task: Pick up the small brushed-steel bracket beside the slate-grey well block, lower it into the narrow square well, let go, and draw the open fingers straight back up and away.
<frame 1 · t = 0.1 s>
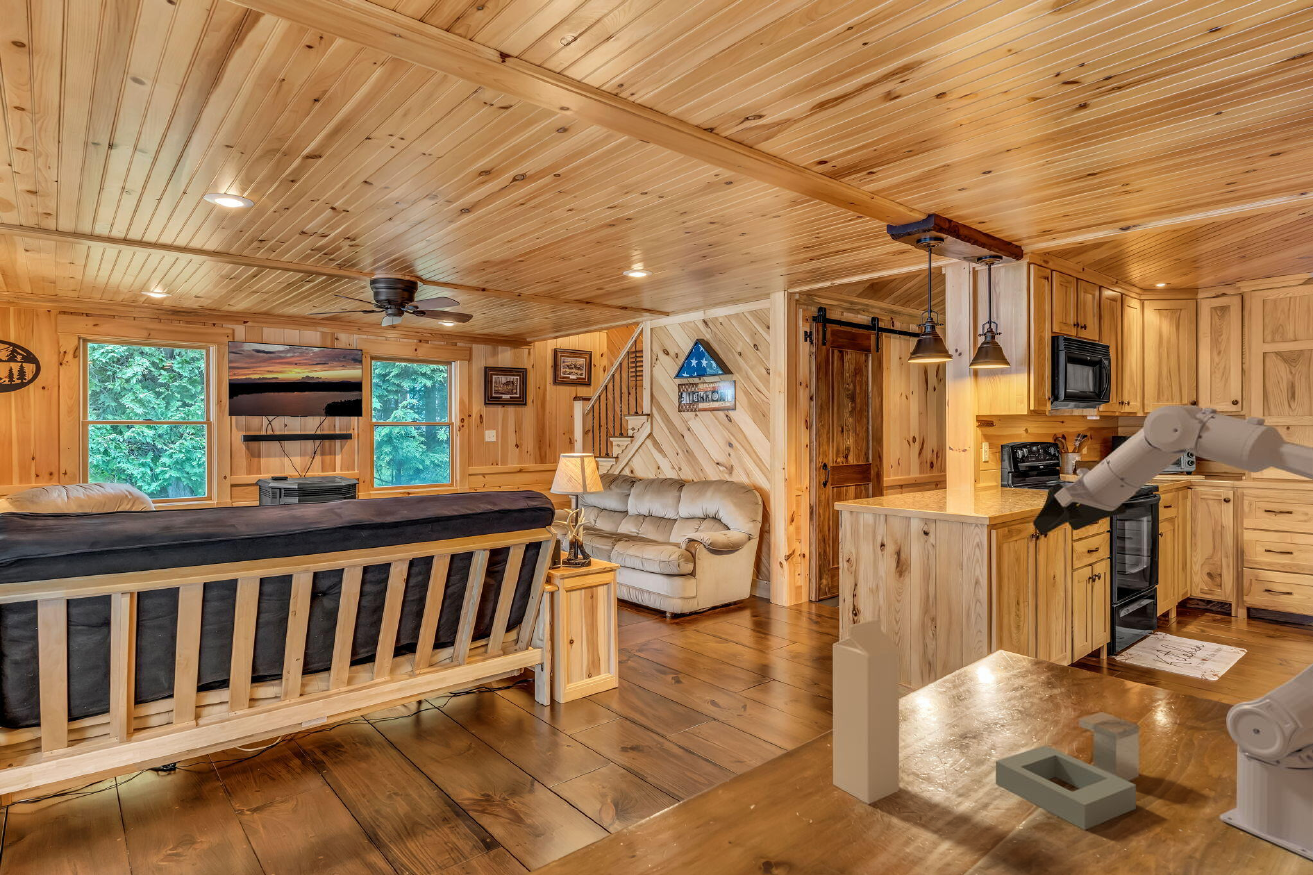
hand: (1054, 526, 107), 32 cm above the table, tool tilted 50°, fingers open, 7 cm apart
well block: (1063, 795, 91), on the table
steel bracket: (1115, 776, 96), on the table
milk: (865, 789, 94), on the table
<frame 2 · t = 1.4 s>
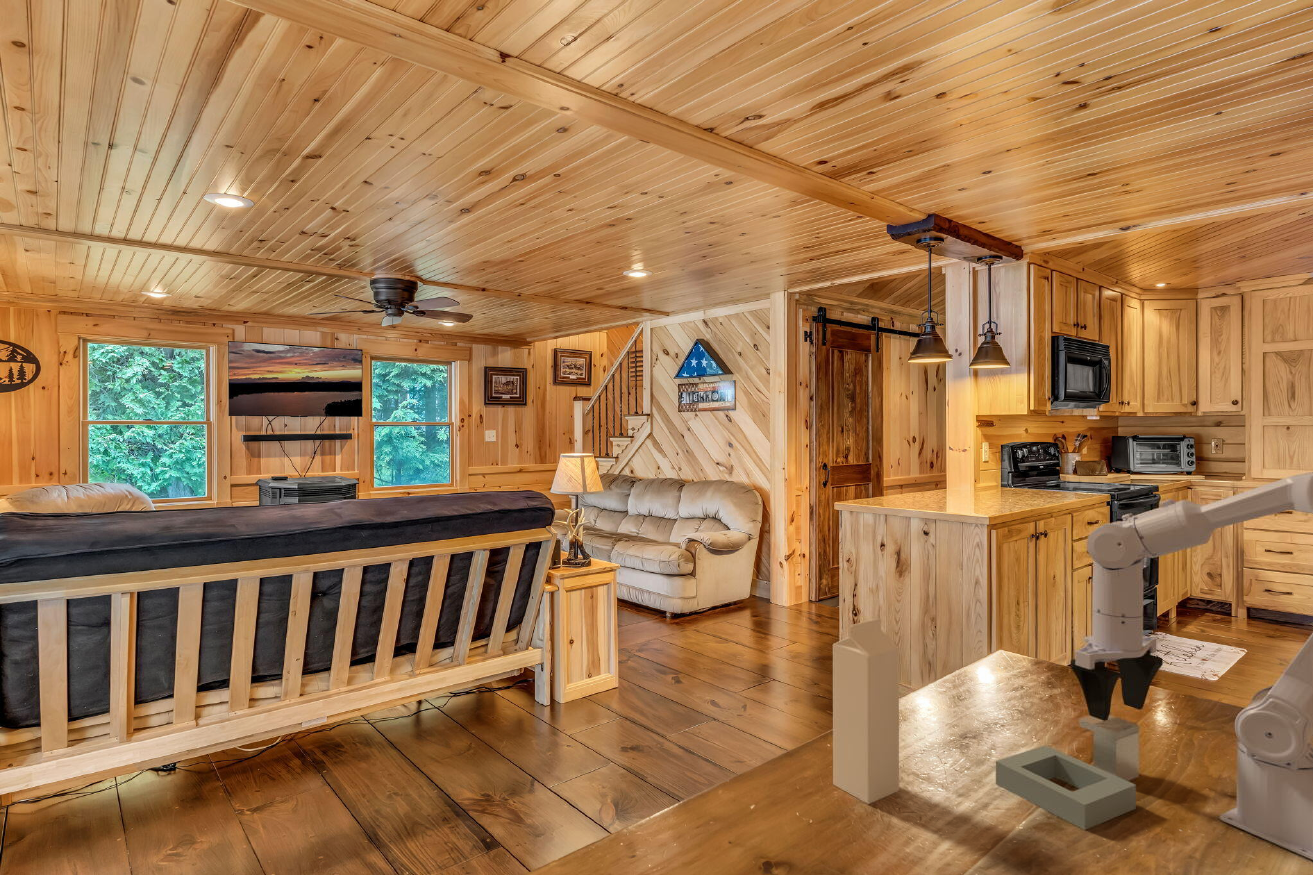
hand: (1116, 712, 96), 9 cm above the table, tool pointing down, fingers open, 7 cm apart
nothing on the table moved.
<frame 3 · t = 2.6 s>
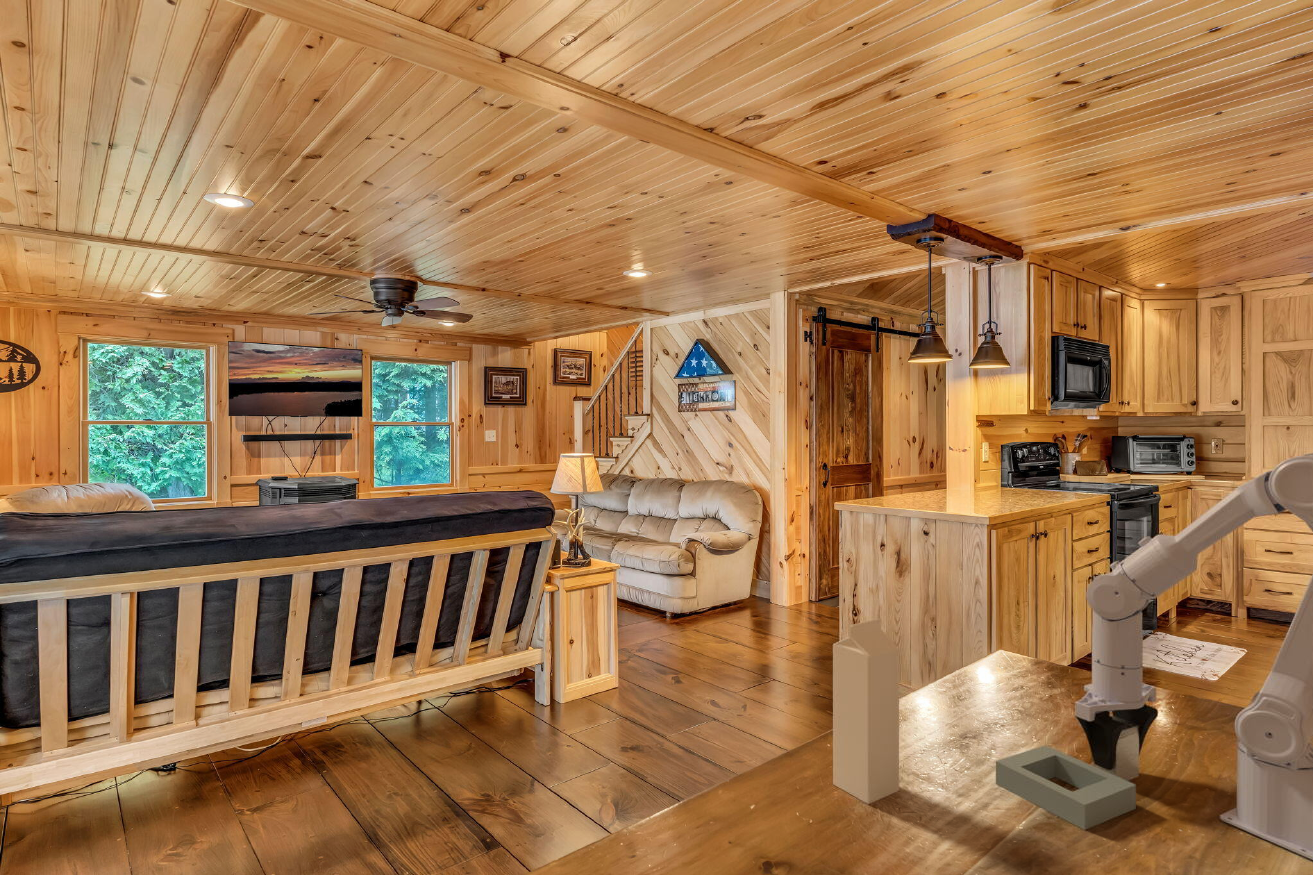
hand: (1116, 761, 96), 2 cm above the table, tool pointing down, fingers closed on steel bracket, 5 cm apart
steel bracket: (1115, 775, 96), on the table, touching gripper
everything else where it was.
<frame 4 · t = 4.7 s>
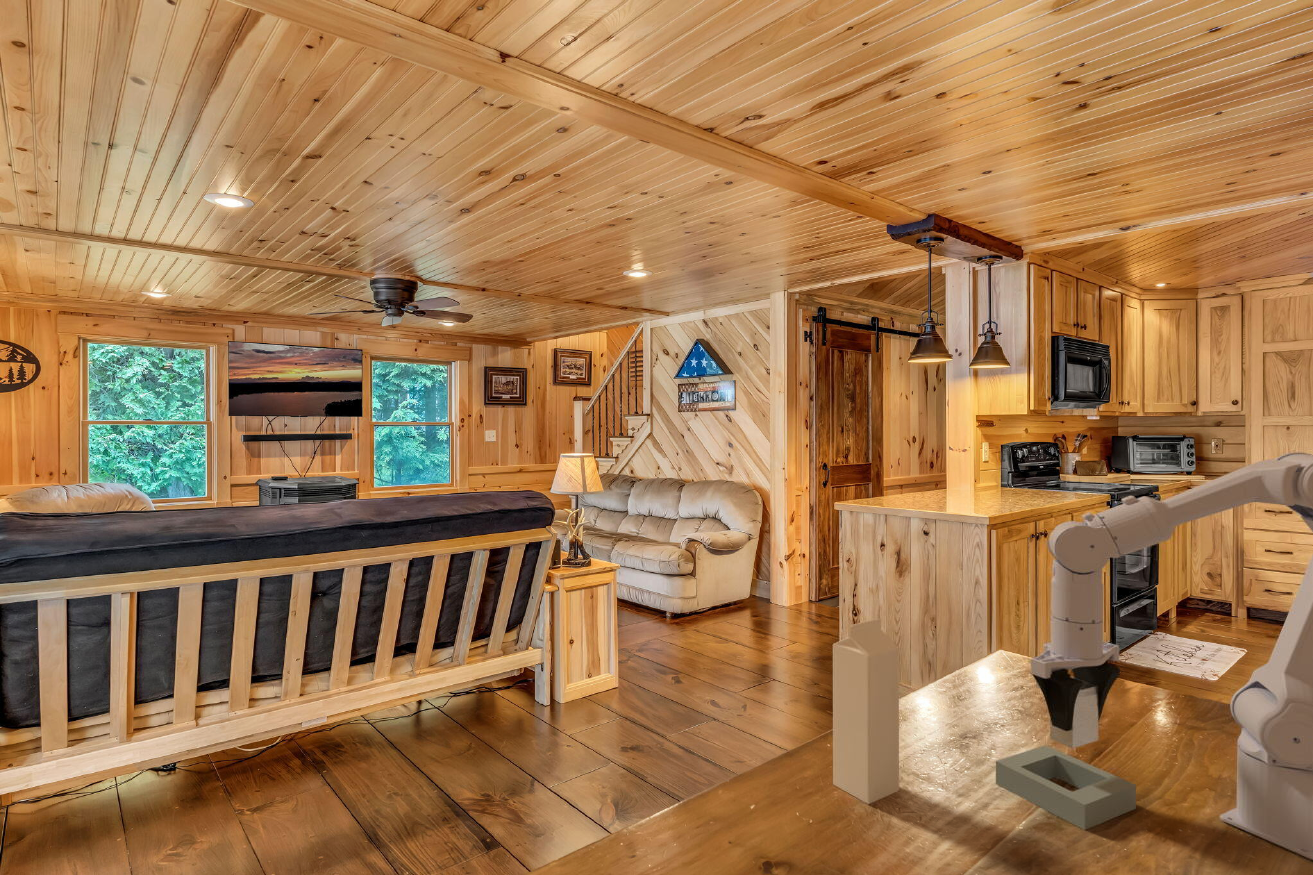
hand: (1075, 723, 91), 9 cm above the table, tool pointing down, fingers closed on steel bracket, 5 cm apart
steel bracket: (1074, 739, 91), point 7 cm above the table, touching gripper
everything else where it was.
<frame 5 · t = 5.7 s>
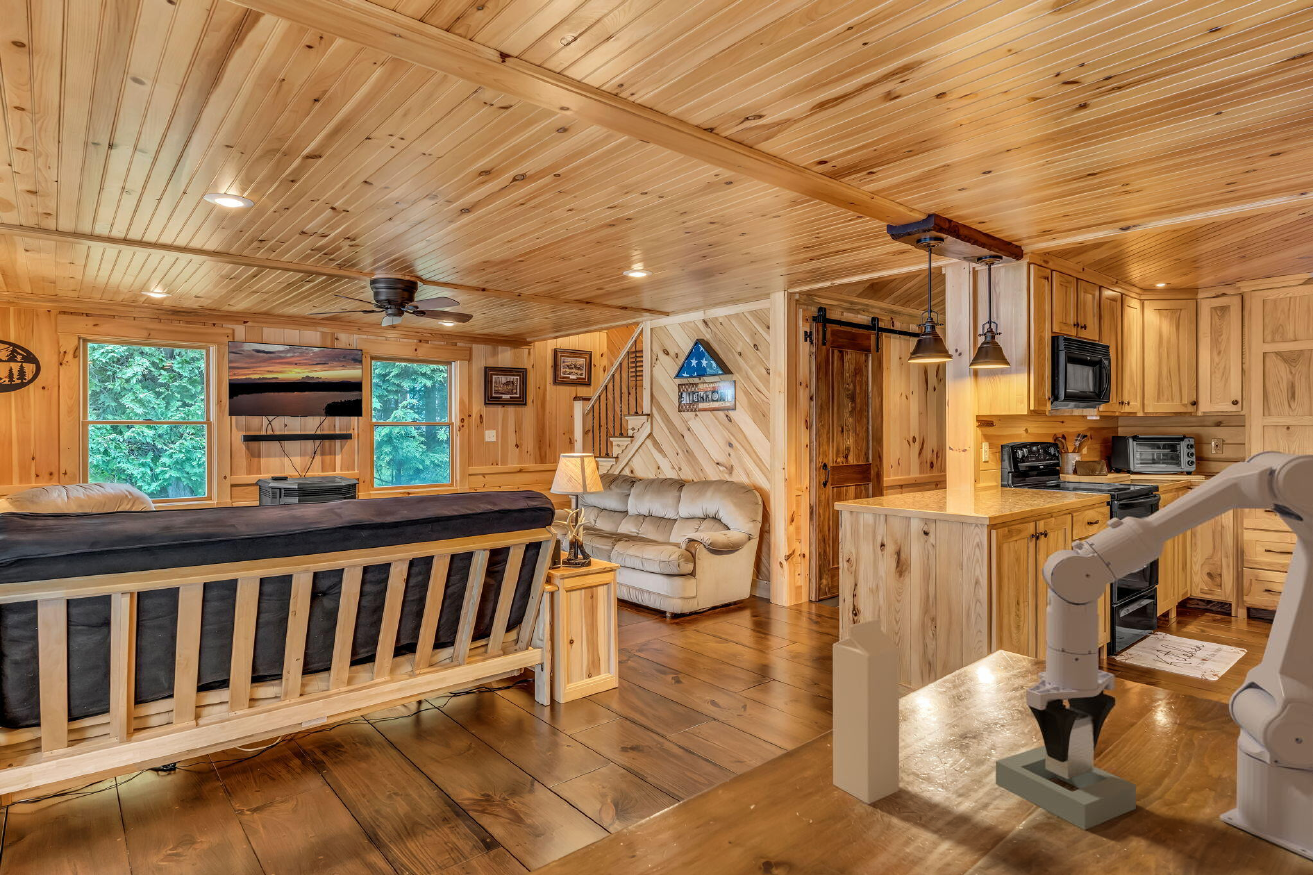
hand: (1070, 753, 90), 6 cm above the table, tool pointing down, fingers closed on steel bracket, 5 cm apart
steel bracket: (1069, 769, 90), point 4 cm above the table, touching gripper
everything else where it was.
when the fingers open (4 cm above the table, at t = 6.7 s): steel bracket drops 2 cm, resting in well block.
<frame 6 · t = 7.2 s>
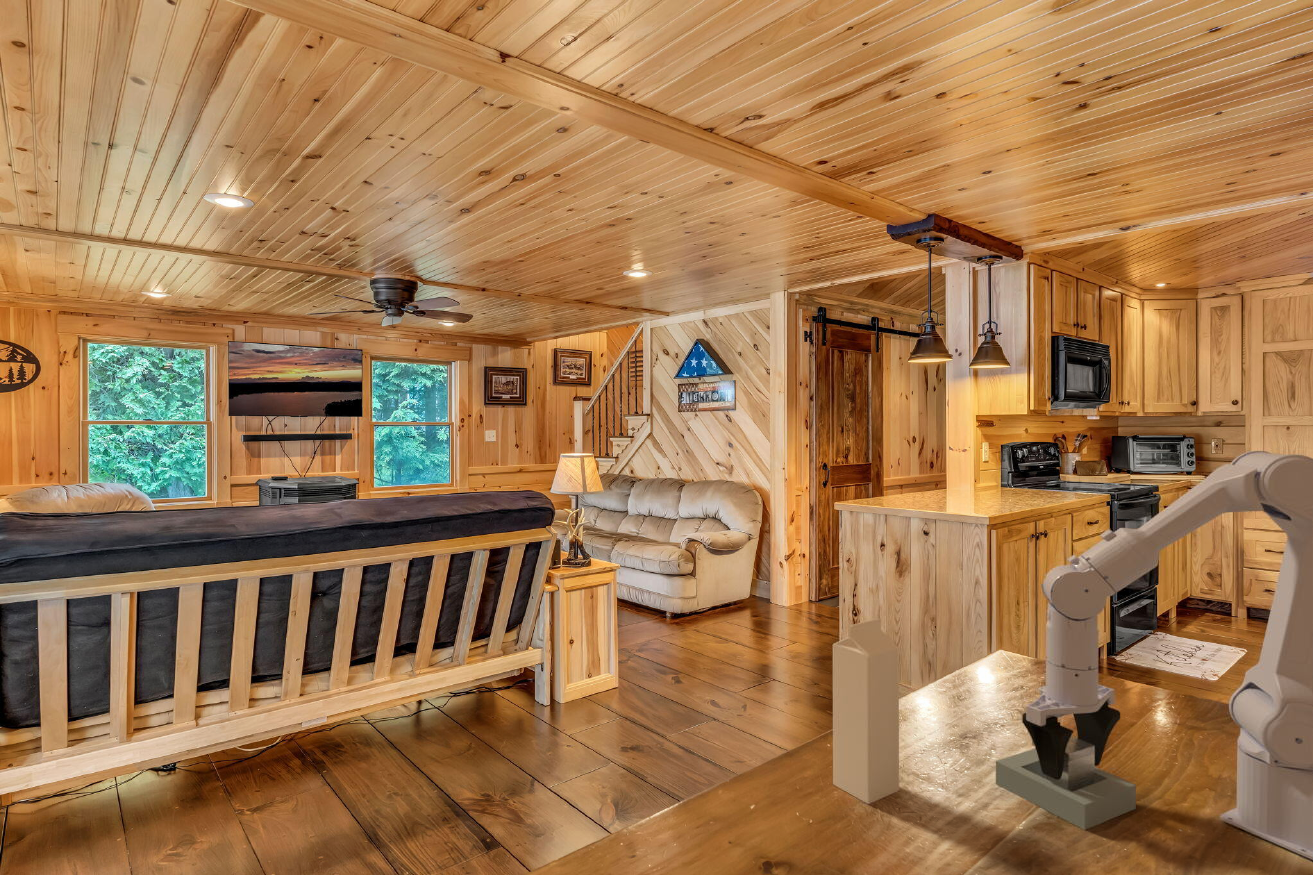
hand: (1071, 768, 90), 4 cm above the table, tool pointing down, fingers open, 7 cm apart
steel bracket: (1069, 799, 91), resting in well block
everything else where it was.
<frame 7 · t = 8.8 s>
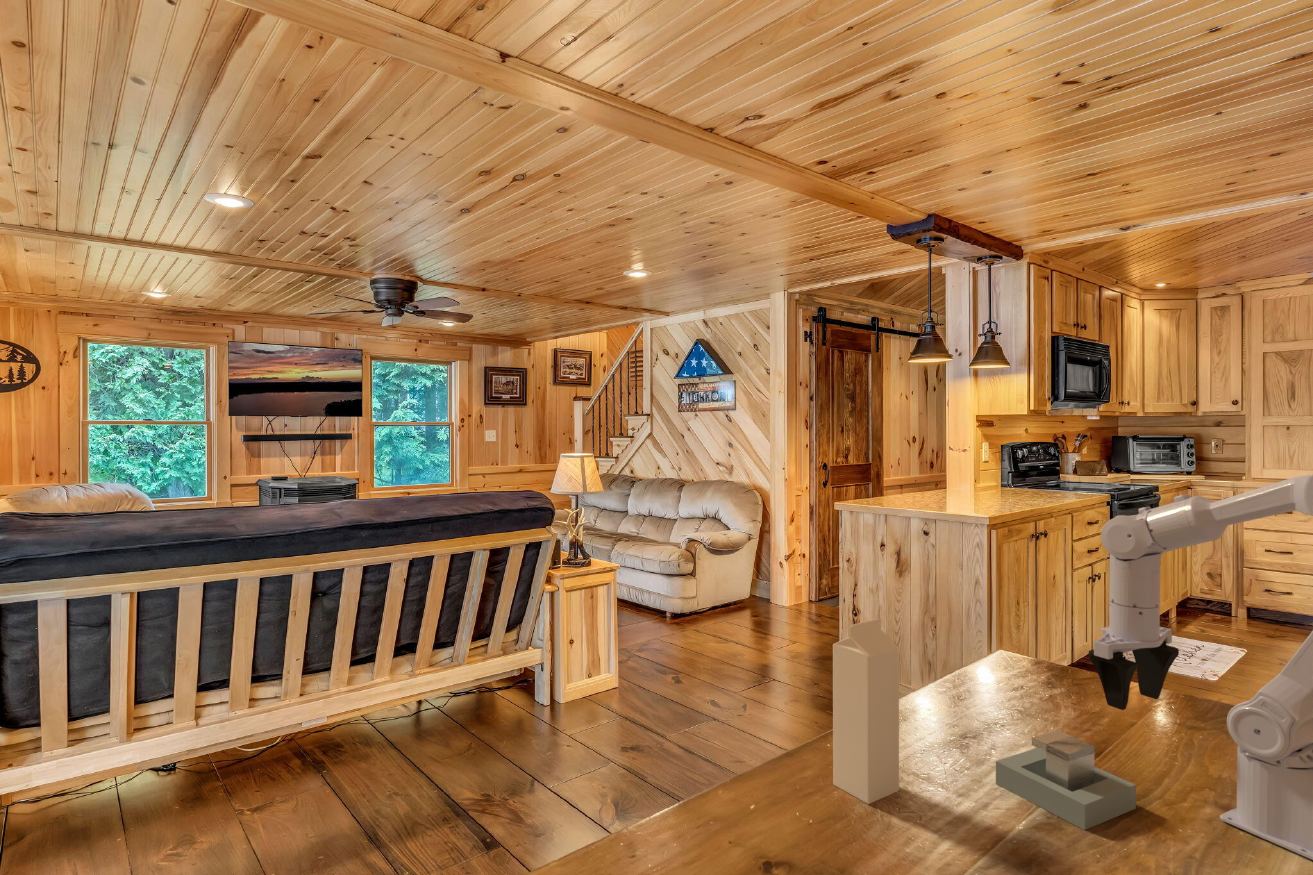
hand: (1133, 701, 98), 9 cm above the table, tool pointing down, fingers open, 7 cm apart
nothing on the table moved.
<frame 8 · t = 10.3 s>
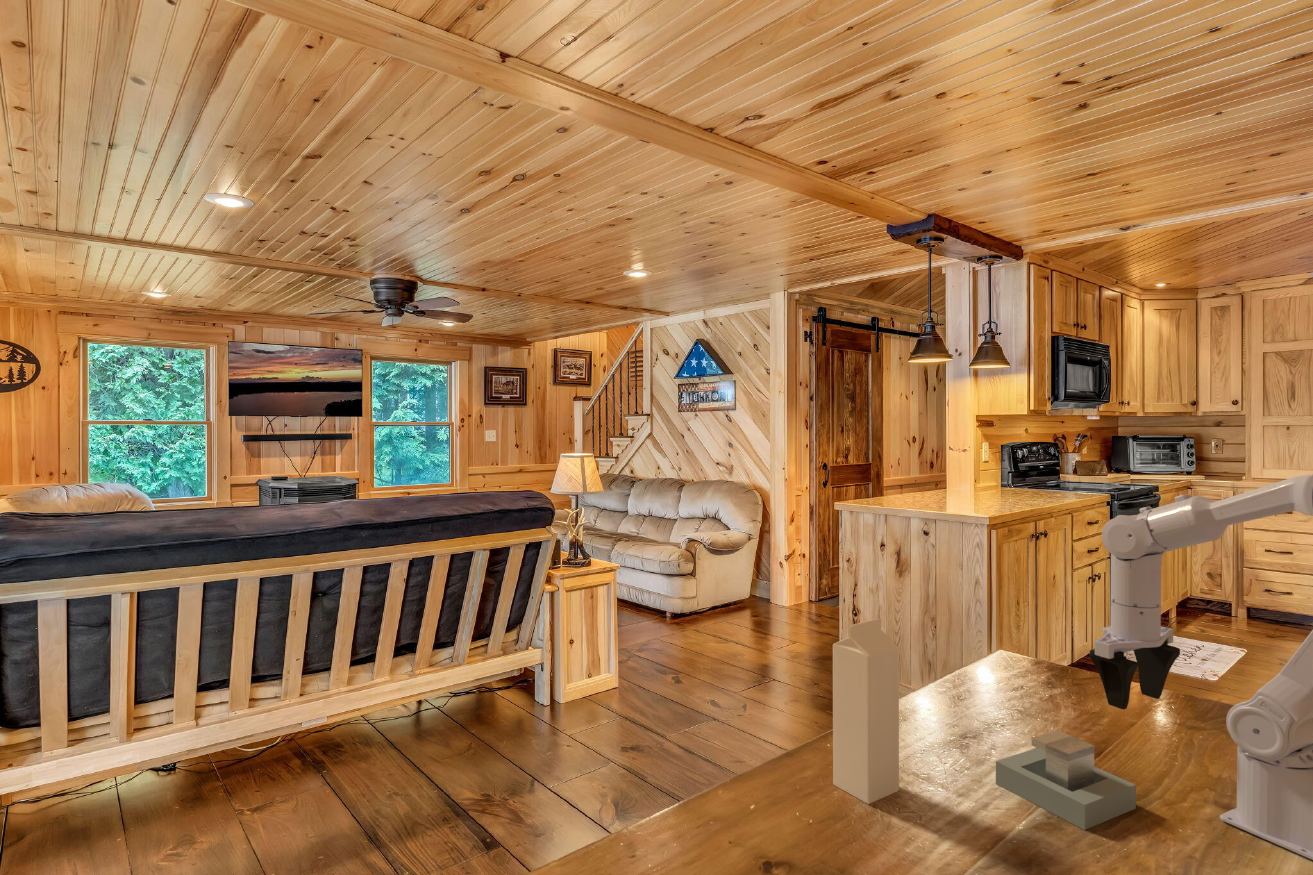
hand: (1134, 701, 98), 9 cm above the table, tool pointing down, fingers open, 7 cm apart
nothing on the table moved.
at the end: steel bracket 0.1 cm from the target spot on the well block, point 0.0 cm above the well block's base; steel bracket tilted 0°; the gripper is holding nothing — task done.
